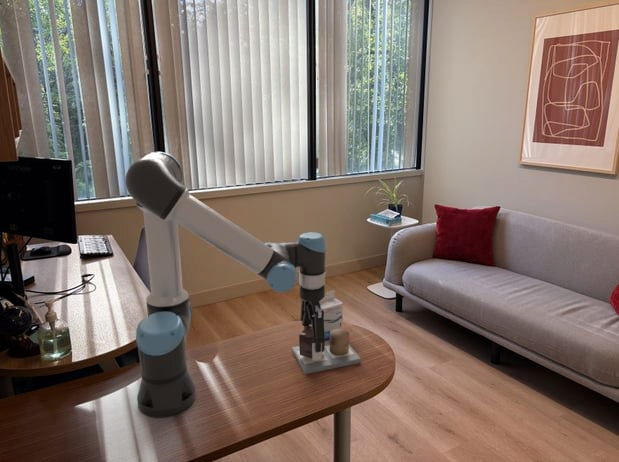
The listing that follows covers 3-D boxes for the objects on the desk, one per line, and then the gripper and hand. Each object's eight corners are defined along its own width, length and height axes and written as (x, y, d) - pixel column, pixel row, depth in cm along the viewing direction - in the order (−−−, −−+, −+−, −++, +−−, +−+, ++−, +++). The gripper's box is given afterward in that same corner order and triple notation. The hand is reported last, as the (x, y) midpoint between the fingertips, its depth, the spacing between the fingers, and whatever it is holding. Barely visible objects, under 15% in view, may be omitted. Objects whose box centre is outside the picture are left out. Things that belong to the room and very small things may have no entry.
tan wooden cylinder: (326, 347, 148) (327, 330, 146) (344, 344, 150) (344, 327, 148) (333, 357, 142) (334, 339, 140) (351, 353, 144) (352, 336, 142)
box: (325, 350, 144) (325, 329, 142) (317, 360, 139) (317, 338, 137) (307, 345, 147) (307, 325, 145) (299, 355, 142) (298, 334, 139)
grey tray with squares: (305, 374, 136) (305, 369, 136) (292, 351, 148) (292, 347, 148) (360, 362, 142) (360, 358, 142) (343, 341, 154) (344, 337, 153)
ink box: (322, 340, 154) (322, 300, 150) (314, 334, 158) (314, 295, 154) (342, 333, 159) (343, 294, 155) (334, 327, 163) (334, 289, 159)
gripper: (337, 297, 128) (336, 368, 135) (312, 270, 147) (312, 333, 154) (311, 301, 125) (311, 373, 132) (289, 273, 144) (290, 337, 151)
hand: (311, 352), depth 143 cm, fingers closed on box, 8 cm apart
